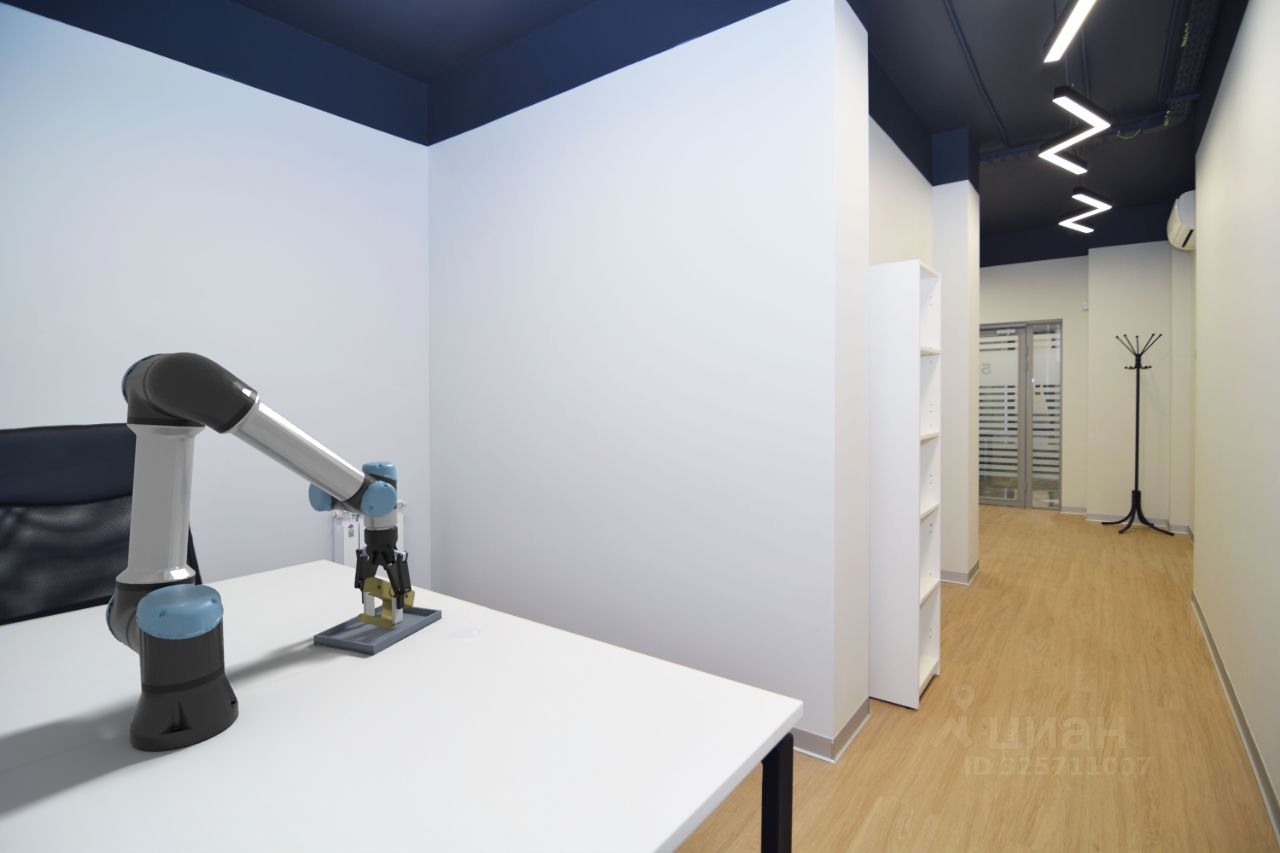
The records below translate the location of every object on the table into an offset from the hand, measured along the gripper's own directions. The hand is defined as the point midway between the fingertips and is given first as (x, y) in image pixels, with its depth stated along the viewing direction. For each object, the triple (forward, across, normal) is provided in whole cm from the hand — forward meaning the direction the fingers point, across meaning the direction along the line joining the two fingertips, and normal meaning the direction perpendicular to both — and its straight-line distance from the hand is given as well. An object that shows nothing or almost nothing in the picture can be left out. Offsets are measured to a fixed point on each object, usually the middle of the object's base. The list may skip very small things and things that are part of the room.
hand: (383, 619), depth 152 cm
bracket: (-3, +3, +1) cm, 4 cm away
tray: (+2, 0, +1) cm, 3 cm away
